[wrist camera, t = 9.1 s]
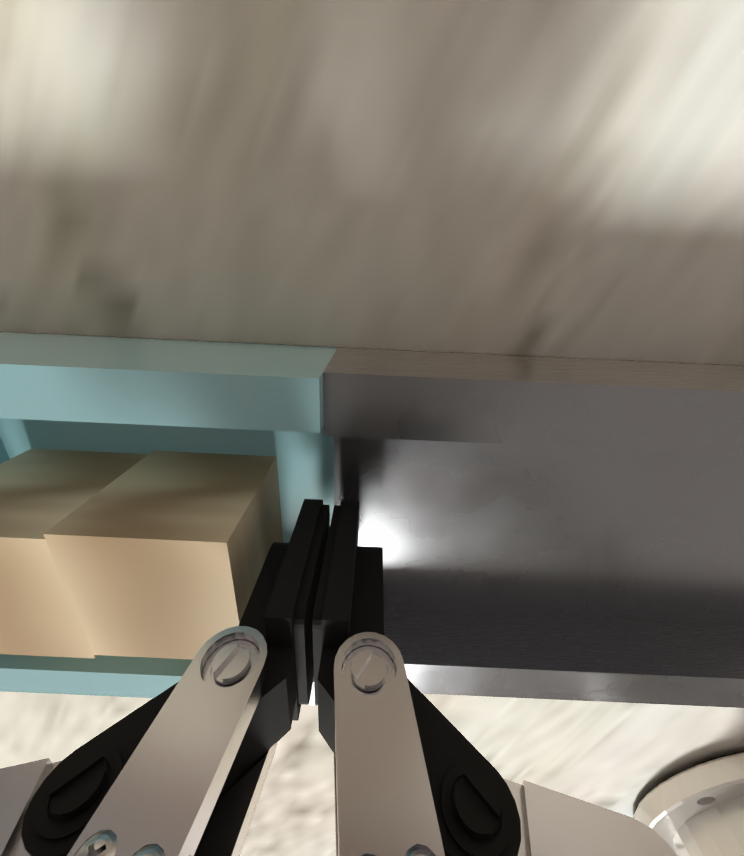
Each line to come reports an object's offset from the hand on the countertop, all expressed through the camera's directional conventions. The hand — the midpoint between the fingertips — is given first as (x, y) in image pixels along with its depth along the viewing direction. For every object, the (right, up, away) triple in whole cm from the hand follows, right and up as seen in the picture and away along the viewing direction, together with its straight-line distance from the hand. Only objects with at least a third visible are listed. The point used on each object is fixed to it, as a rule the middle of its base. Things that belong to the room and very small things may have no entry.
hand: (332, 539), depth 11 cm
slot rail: (+9, 0, +2) cm, 9 cm away
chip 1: (-8, +1, +1) cm, 8 cm away
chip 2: (-4, +1, +1) cm, 4 cm away
